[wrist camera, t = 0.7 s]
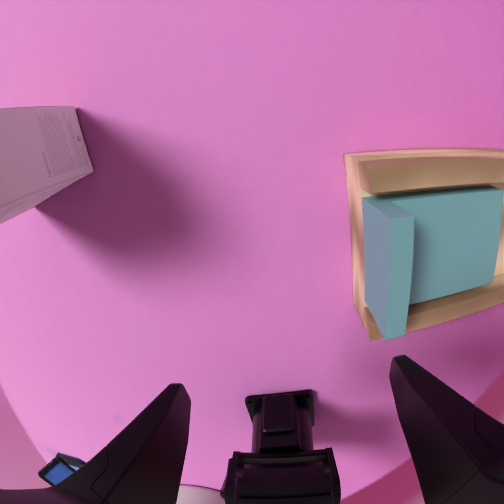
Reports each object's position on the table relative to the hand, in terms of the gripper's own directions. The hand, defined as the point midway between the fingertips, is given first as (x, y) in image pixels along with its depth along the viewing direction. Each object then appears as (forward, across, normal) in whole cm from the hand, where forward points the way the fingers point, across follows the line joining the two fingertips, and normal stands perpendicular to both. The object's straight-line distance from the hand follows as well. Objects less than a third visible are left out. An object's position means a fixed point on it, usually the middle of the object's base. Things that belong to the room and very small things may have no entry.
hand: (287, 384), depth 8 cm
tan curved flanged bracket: (+12, -13, 0) cm, 18 cm away
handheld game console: (+13, +52, +50) cm, 73 cm away
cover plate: (+9, -10, 0) cm, 13 cm away
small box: (+12, +16, -10) cm, 22 cm away
